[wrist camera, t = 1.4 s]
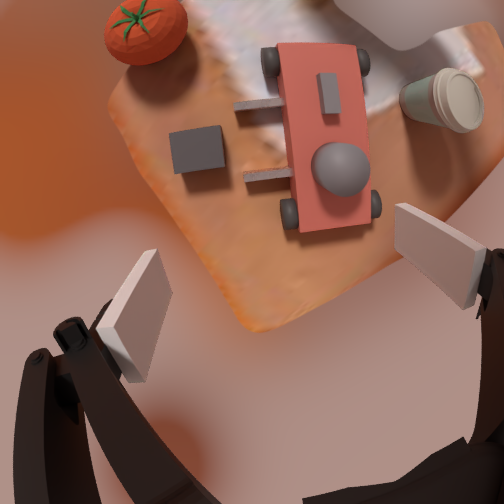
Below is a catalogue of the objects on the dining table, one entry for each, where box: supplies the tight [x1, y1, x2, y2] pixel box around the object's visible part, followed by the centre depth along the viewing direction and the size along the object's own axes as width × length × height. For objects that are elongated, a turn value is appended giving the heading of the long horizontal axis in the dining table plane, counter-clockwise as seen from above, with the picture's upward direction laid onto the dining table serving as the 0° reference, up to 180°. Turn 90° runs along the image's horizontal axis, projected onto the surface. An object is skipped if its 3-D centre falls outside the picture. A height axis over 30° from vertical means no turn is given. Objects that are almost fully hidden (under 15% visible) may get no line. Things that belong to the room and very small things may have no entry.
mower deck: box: [261, 43, 382, 233], centre depth 31 cm, size 24×13×8 cm, turn 7°
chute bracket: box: [233, 98, 293, 182], centre depth 33 cm, size 10×6×2 cm, turn 7°
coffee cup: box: [399, 68, 484, 133], centre depth 27 cm, size 8×8×12 cm
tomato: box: [104, 0, 188, 65], centre depth 23 cm, size 10×10×10 cm
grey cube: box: [169, 125, 225, 174], centre depth 32 cm, size 5×6×4 cm
